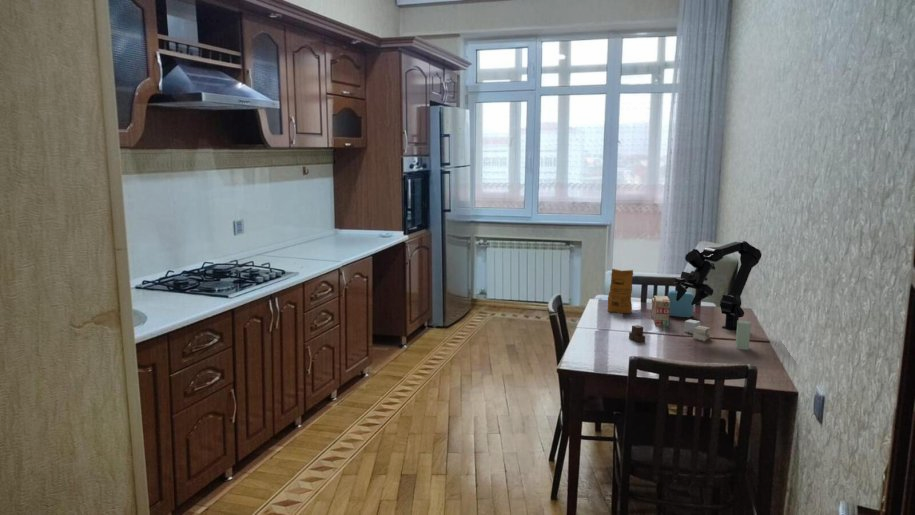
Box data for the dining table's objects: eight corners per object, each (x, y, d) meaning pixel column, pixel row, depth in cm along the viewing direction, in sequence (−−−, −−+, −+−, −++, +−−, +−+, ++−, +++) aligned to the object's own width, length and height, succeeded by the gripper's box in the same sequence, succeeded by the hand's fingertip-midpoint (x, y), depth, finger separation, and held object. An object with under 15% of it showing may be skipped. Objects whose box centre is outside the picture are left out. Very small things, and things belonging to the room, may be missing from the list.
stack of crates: (664, 344, 275) (665, 329, 274) (633, 347, 271) (634, 331, 269) (644, 335, 289) (645, 320, 288) (615, 337, 285) (615, 322, 284)
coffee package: (608, 308, 339) (610, 267, 336) (633, 310, 334) (635, 268, 331) (605, 312, 330) (607, 270, 326) (630, 314, 325) (632, 271, 322)
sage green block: (735, 345, 272) (737, 320, 270) (746, 346, 271) (748, 321, 269) (736, 348, 268) (738, 323, 266) (748, 349, 267) (750, 324, 265)
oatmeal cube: (698, 336, 286) (698, 325, 285) (709, 338, 283) (710, 327, 282) (693, 338, 283) (693, 327, 282) (704, 341, 279) (705, 329, 278)
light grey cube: (689, 329, 297) (689, 319, 297) (699, 332, 294) (700, 321, 293) (684, 331, 294) (684, 321, 293) (694, 334, 290) (695, 323, 290)
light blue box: (692, 316, 324) (694, 292, 322) (691, 318, 319) (693, 294, 318) (667, 313, 328) (669, 290, 326) (666, 315, 324) (668, 292, 322)
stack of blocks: (650, 315, 324) (652, 291, 323) (663, 316, 323) (665, 292, 321) (655, 326, 304) (656, 300, 302) (668, 326, 302) (670, 301, 301)
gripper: (675, 260, 293) (658, 290, 291) (706, 267, 276) (689, 298, 274) (689, 272, 297) (673, 301, 296) (721, 280, 281) (704, 310, 279)
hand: (684, 302), depth 286 cm, fingers open, 9 cm apart
